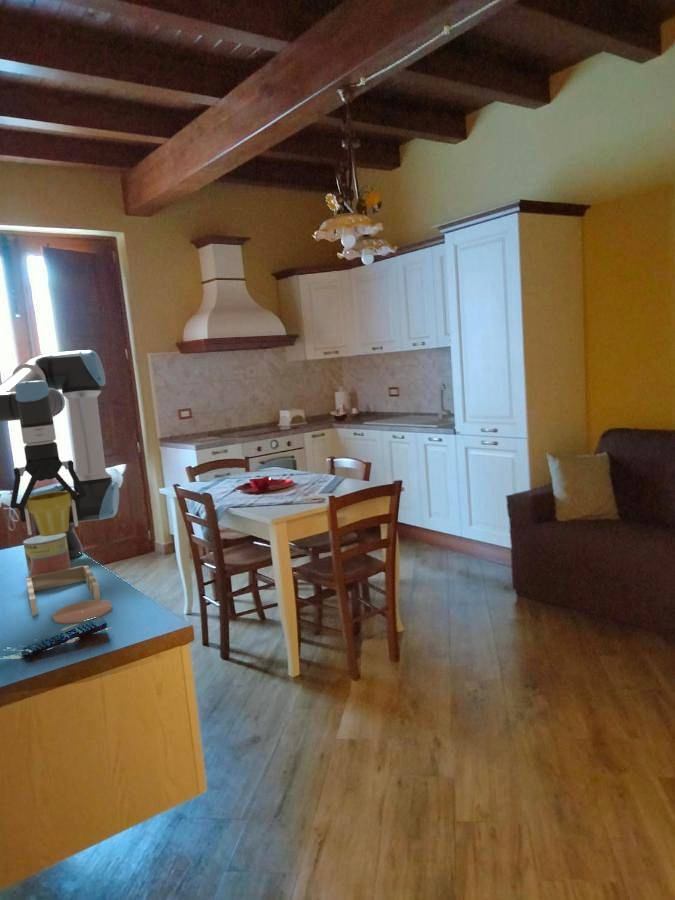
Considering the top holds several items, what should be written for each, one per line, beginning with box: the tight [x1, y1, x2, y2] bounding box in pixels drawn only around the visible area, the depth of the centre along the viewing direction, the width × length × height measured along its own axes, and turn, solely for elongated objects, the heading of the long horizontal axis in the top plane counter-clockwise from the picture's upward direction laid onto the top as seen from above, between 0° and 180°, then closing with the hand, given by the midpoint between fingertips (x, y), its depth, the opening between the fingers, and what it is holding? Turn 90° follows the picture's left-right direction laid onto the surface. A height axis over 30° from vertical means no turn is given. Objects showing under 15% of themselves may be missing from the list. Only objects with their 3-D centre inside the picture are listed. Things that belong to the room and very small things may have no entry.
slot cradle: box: [25, 564, 102, 617], centre depth 170 cm, size 22×16×4 cm
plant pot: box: [26, 491, 72, 536], centre depth 166 cm, size 10×10×10 cm
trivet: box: [52, 599, 113, 625], centre depth 155 cm, size 13×13×1 cm
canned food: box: [22, 533, 72, 577], centre depth 186 cm, size 11×11×12 cm
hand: (53, 529), depth 166 cm, fingers closed on plant pot, 10 cm apart
